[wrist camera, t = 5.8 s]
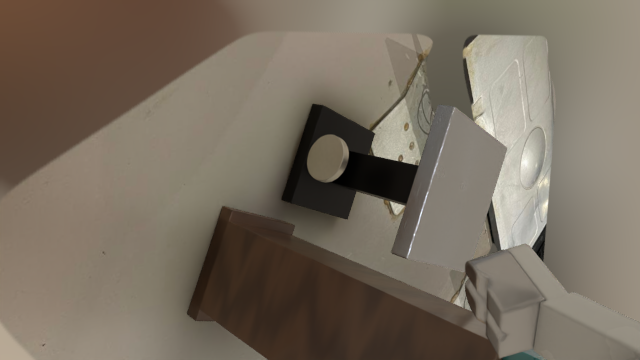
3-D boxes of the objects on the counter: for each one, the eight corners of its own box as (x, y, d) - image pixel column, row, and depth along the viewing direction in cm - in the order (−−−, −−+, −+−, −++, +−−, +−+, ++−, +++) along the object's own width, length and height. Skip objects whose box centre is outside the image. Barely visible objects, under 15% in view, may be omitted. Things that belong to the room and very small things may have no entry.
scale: (309, 90, 47) (454, 106, 36) (372, 126, 55) (507, 147, 44) (270, 207, 47) (406, 259, 36) (340, 226, 55) (468, 273, 44)
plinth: (222, 205, 43) (505, 325, 25) (285, 221, 49) (551, 327, 31) (186, 314, 42) (447, 514, 25) (254, 317, 48) (504, 480, 30)
